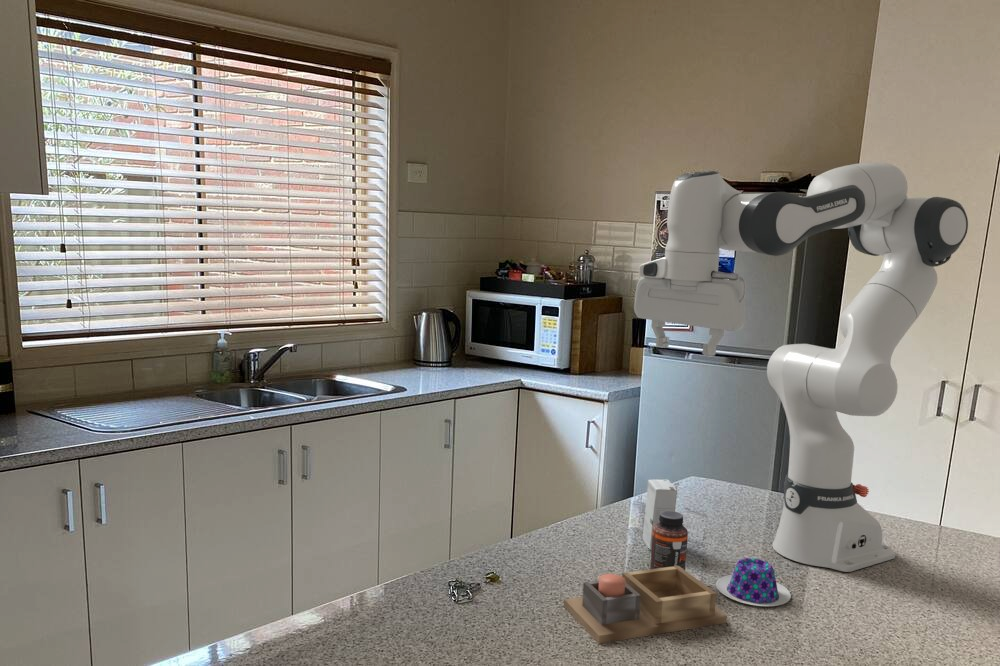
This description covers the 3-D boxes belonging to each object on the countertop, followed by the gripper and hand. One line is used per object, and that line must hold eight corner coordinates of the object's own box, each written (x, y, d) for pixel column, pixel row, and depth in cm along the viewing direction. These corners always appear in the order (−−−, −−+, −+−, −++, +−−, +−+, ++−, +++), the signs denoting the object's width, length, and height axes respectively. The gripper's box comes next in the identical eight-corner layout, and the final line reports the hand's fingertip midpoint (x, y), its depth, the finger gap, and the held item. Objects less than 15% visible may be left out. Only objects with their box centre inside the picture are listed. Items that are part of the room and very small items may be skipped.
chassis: (683, 589, 138) (685, 561, 138) (726, 622, 127) (728, 592, 127) (563, 606, 131) (565, 576, 130) (598, 643, 120) (600, 610, 119)
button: (616, 592, 129) (617, 572, 129) (629, 604, 125) (630, 583, 125) (593, 595, 128) (594, 575, 127) (605, 607, 124) (606, 586, 123)
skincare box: (641, 538, 160) (645, 478, 158) (664, 539, 161) (668, 478, 159) (649, 551, 154) (654, 488, 152) (673, 551, 154) (677, 489, 153)
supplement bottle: (684, 586, 140) (689, 522, 138) (649, 582, 141) (653, 518, 139) (684, 572, 145) (688, 510, 144) (649, 568, 147) (654, 506, 145)
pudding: (792, 616, 131) (794, 584, 131) (714, 603, 135) (716, 572, 134) (788, 585, 143) (791, 556, 142) (717, 573, 146) (719, 545, 145)
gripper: (756, 273, 133) (749, 358, 135) (653, 265, 148) (648, 341, 149) (735, 274, 128) (728, 362, 130) (631, 265, 143) (626, 344, 145)
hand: (684, 351), depth 140 cm, fingers open, 8 cm apart
